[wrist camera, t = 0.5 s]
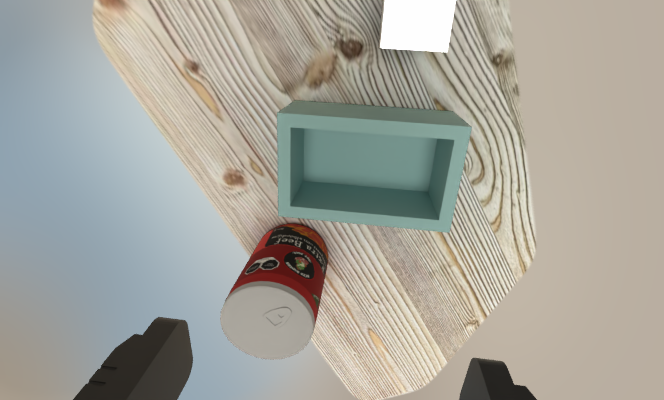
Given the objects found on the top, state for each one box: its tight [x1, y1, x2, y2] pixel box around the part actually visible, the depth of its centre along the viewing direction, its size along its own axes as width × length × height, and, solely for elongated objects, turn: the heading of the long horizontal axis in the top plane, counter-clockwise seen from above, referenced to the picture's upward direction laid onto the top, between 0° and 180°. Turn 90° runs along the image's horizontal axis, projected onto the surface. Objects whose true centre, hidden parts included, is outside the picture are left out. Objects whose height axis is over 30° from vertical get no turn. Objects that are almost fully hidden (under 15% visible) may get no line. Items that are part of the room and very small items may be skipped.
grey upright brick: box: [378, 0, 456, 52], centre depth 25 cm, size 4×4×9 cm
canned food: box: [220, 224, 328, 360], centre depth 34 cm, size 8×8×11 cm
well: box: [277, 100, 472, 232], centre depth 30 cm, size 8×14×7 cm, turn 87°
